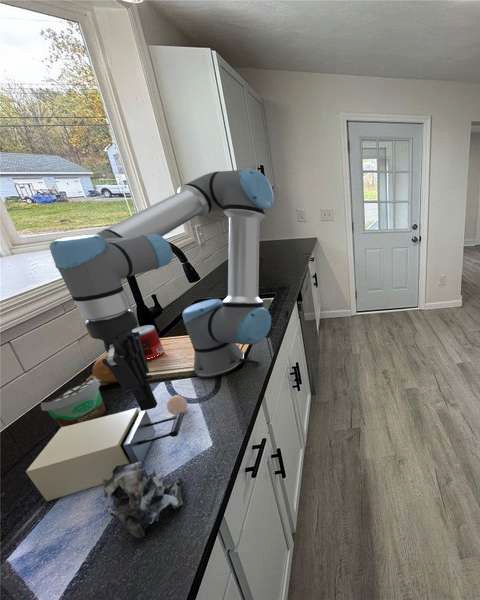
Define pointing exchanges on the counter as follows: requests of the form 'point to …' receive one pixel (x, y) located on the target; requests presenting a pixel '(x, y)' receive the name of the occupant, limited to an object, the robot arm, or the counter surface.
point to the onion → (103, 370)
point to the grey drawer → (145, 435)
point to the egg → (176, 404)
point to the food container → (77, 404)
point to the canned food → (149, 341)
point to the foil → (139, 496)
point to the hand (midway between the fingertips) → (149, 407)
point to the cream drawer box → (81, 455)
